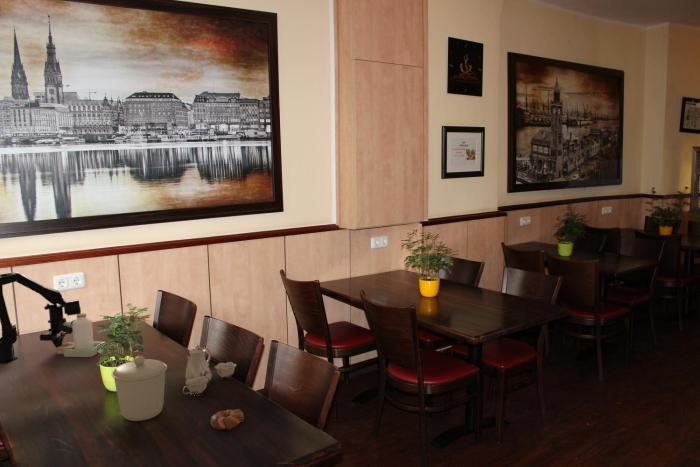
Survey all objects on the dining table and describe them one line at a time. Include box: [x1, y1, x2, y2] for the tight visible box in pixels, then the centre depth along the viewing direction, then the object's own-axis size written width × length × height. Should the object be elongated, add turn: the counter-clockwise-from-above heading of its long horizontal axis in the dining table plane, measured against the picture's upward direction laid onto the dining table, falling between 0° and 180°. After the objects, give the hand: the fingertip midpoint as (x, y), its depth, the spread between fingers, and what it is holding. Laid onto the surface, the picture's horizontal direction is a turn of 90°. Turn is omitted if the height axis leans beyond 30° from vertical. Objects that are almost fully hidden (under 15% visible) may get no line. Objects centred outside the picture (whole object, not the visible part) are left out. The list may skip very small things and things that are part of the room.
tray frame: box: [63, 341, 106, 358], centre depth 266 cm, size 13×13×3 cm
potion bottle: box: [72, 313, 94, 350], centre depth 265 cm, size 8×8×18 cm
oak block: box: [56, 341, 74, 355], centre depth 267 cm, size 8×7×4 cm
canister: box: [111, 355, 168, 422], centre depth 197 cm, size 18×18×21 cm
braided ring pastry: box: [209, 408, 245, 430], centre depth 191 cm, size 12×11×4 cm
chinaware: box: [182, 343, 237, 396], centre depth 224 cm, size 28×17×17 cm, turn 160°
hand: (59, 349), depth 267 cm, fingers closed
